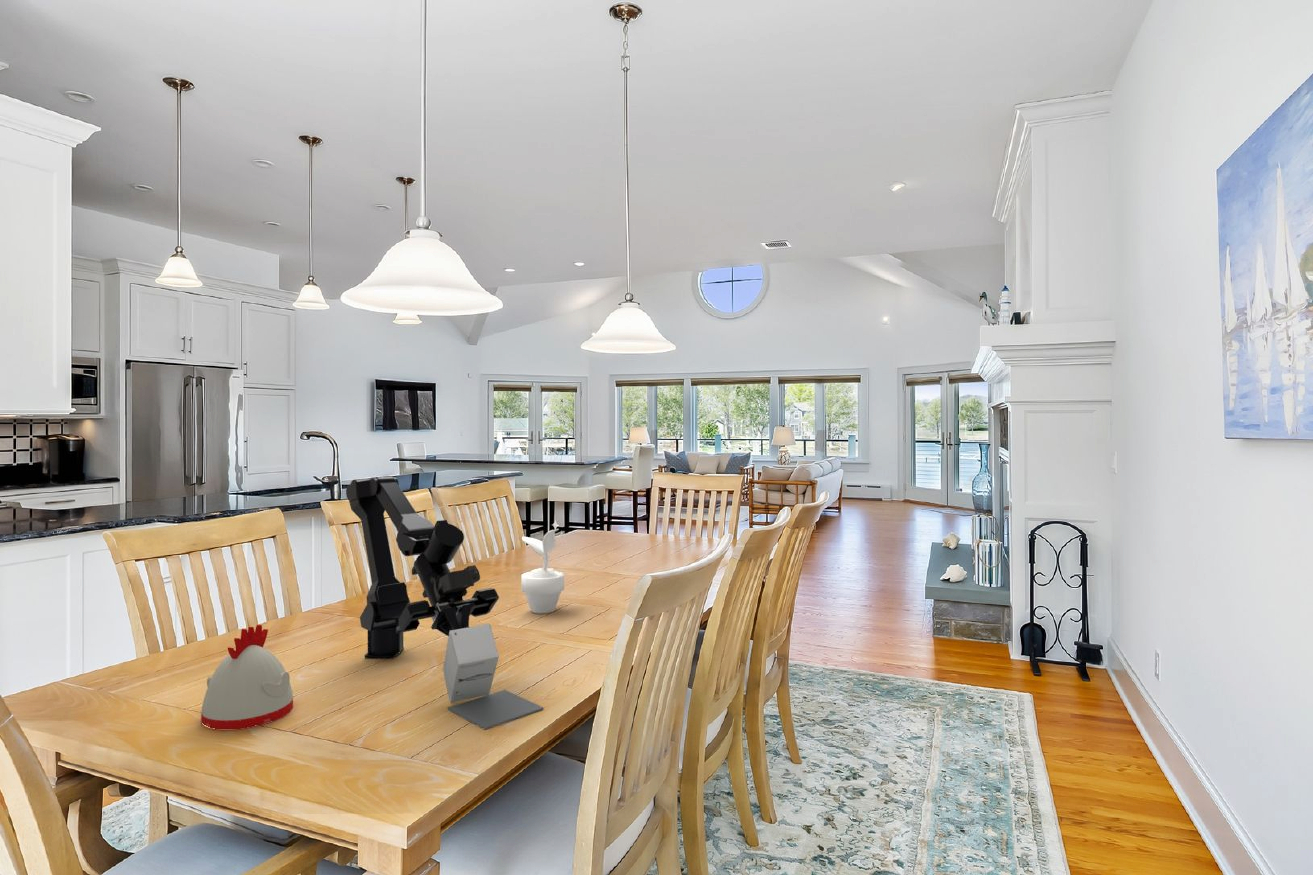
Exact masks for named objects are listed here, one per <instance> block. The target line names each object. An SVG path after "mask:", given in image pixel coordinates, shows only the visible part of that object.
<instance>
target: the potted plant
mask: <svg viewBox="0 0 1313 875" xmlns="http://www.w3.org/2000/svg"><path fill="white" fill-rule="evenodd" d="M551 526H553V528H554V529H551V530H549V531H547V532H546V533H545V534H544V535H543V539H542V541H541V540H540V539H537V538H534V537H530V536H529V537H528V536H523V535H522V538H521V540H522V542H524V543H525V544H526V545H529V546H530V547H531V548H532V550H534V551H535V553H537V555H539V556H543V557H542V558H543V559H542V567H539V568H535V569H532V570H531V571H526V572H525V573H523V574H522V573H521V592H522V593H524V594H525V597H526V600H527V604H528V606H529V610H530V612H532V613H535V614H541V615H543V614H550V613H552V612H554V611H555V610H556V608H557V605H558V601H559V599H560V596H561V593H562V592H563V591H565V574H564V572H561V571H557V570H554V568H553V567H549V559H550V556H549V553H551V552H552V551H553V550H554V548H555V546H556V538H557V536H555V533H556V532H558V531H559V528H557V527H558V526H561V525H560V524H558V523H557V518H555V521H554V523H553V524H551ZM559 535H560V536H561V538H562V537H563V535H564V533H563V531H560V533H559Z"/></svg>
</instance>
